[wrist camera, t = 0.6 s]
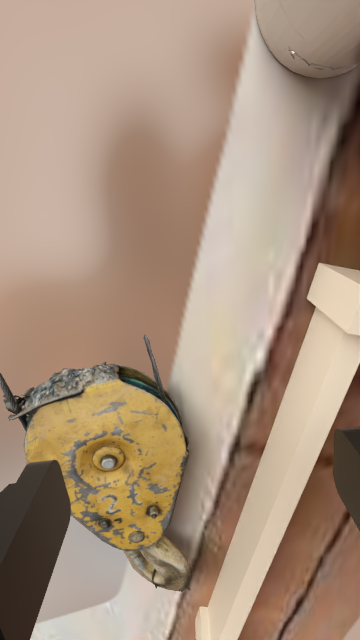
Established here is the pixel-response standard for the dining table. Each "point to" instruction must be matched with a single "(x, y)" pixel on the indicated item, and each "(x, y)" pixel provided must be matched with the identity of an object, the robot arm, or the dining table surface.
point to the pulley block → (113, 458)
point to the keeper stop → (289, 449)
